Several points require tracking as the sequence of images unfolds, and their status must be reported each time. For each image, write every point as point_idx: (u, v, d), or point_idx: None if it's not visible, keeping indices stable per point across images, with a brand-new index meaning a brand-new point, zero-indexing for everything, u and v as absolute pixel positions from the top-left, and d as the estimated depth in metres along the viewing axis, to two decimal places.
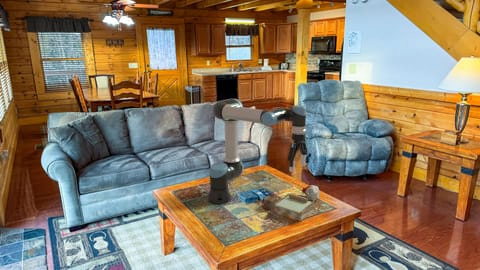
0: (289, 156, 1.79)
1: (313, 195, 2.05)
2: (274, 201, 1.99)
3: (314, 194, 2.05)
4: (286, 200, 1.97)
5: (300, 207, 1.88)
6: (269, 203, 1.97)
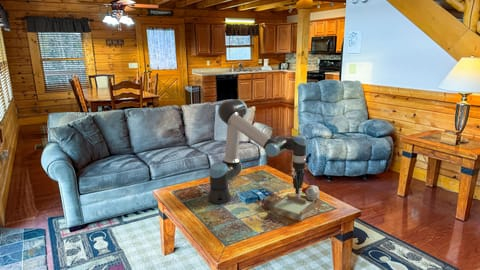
0: (294, 185, 1.92)
1: (313, 195, 2.05)
2: (274, 201, 1.99)
3: (314, 194, 2.05)
4: (285, 201, 1.96)
5: (299, 208, 1.87)
6: (269, 203, 1.97)
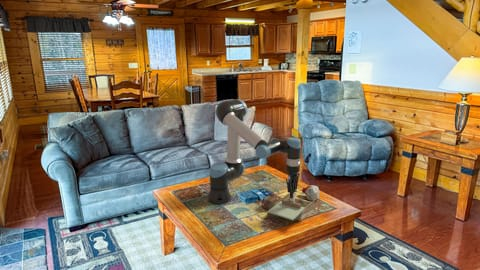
0: (288, 189, 1.86)
1: (313, 195, 2.05)
2: (274, 201, 1.99)
3: (314, 194, 2.05)
4: (279, 206, 1.90)
5: (293, 213, 1.81)
6: (269, 203, 1.97)
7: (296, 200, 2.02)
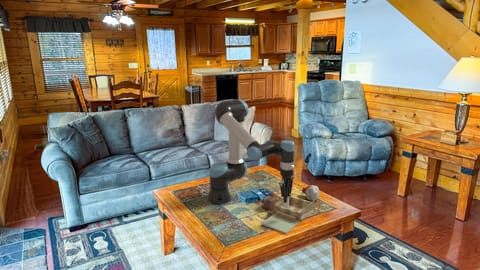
0: (282, 194, 1.80)
1: (313, 195, 2.05)
2: (274, 201, 1.99)
3: (314, 194, 2.05)
4: (273, 218, 1.86)
5: (287, 227, 1.77)
6: (269, 203, 1.97)
7: (296, 200, 2.02)
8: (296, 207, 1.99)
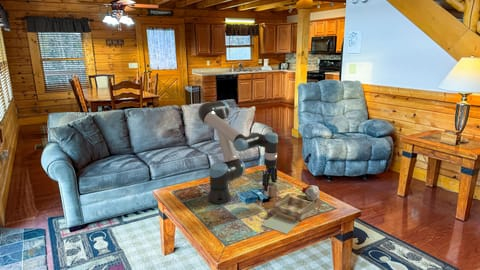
0: (263, 182, 1.93)
1: (313, 195, 2.05)
2: (274, 188, 1.97)
3: (314, 194, 2.05)
4: (273, 219, 1.86)
5: (287, 227, 1.77)
6: (269, 190, 1.95)
7: (296, 200, 2.02)
8: (296, 207, 1.99)
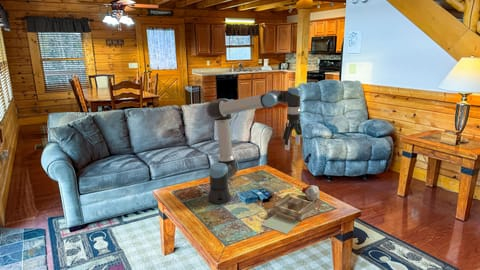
0: (284, 135, 1.90)
1: (313, 195, 2.05)
2: (299, 204, 1.92)
3: (314, 194, 2.05)
4: (273, 219, 1.86)
5: (287, 227, 1.77)
6: (294, 206, 1.91)
7: None
8: None
